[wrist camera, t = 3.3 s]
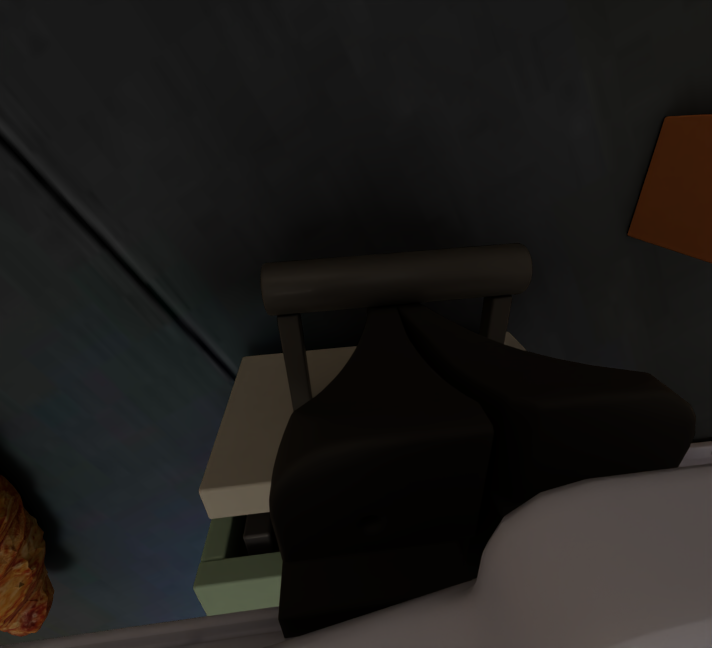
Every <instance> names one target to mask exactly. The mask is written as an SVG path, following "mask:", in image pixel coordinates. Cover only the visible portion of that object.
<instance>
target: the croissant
mask: <svg viewBox="0 0 712 648" xmlns="http://www.w3.org/2000/svg"><path fill="white" fill-rule="evenodd" d="M43 533H44V532H43V531H42V529H41V528H40V527H39V526H38V524H37V520H36V518H34V517H33V516H31V515H29V513H28V512H27V511H26V509H25V508H24V507H23V503H22V500H21V496H20V495H19V493H18V492H17V490H16V489H15V488H14V487H13V485H12V484H11V483H10V482H9V481H8V480H7V479H6V478H5V477H3V476H2V475H1V474H0V630H1V631H3V632H8V633H10V634H12V635H16V636H25V635H28V634H29V633H36V632H37V631H38V630H39V629H40V628H41V626H42V624H43V622H44V621H45V619H46V617H47V615H48V613H49V611H50V608H51V605H52V601H53V594H54V589H53V587H52V584H51V582H50V579H49V577H48V575H47V573H48V571H47V570H46V568H45V564H44V557H45V541H44V539H43Z"/></svg>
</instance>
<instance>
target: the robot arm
mask: <svg viewBox="0 0 712 648" xmlns="http://www.w3.org/2000/svg"><path fill="white" fill-rule="evenodd" d="M695 424H696V415H695V413H694V411H693V409H692V407H691V405H690V404H689V403H688V402H687V401H685V400H684V399H683V398H681V397H680V396H679V395H678V394H676V393H675V392H674V391H672V390H671V389H670V388H668V387H667V386H666V385H664V384H663V383H662V382H660V381H659V380H657V379H656V378H655V377H653V376H652V375H651V374H649V373H645V372H638V371H630V370H623V369H615V368H607V367H600V366H593V365H587V364H581V363H576V362H571V361H566V360H561V359H556V358H552V357H548V356H543V355H539V354H536V353H532V352H528V351H525V350H521V349H518V348H514V347H511V346H508V345H505V344H502V343H500V342H497V341H494V340H492V339H489V338H486V337H484V336H481V335H479V334H476V333H474V332H472V331H470V330H468V329H466V328H464V327H461V326H459V325H457V324H455V323H454V322H452V321H450V320H448V319H446V318H444V317H442V316H441V315H439V314H437V313H435V312H434V311H432V310H430V309H429V308H427V307H425V306H423V305H422V304H420V303H410V304H398V305H387V306H376V307H367V320H366V324H365V327H364V331H363V333H362V336H361V338H360V340H359V343H358V345H357V347H356V349H355V350H354V352H353V354H352V356H351V357H350V359H349V360H348V362H347V363H346V364H345V366H344V367H343V369H342V370H341V371H340V372H339V374H338V375H337V376H336V377H335V378H334V379H333V380H332V381H331V382H330V383H329V384H328V385H327V386H326V387H325V388H324V389H323V390H322V391H321V392H320V393H319V394H318V395H316V396H315V397H313V398H312V399H311V400H309V401H308V402H307V403H305V404H304V405H302V406H301V407H300V408H298V409H296V410H295V411H294V412H293V413H292V414H291V416H290V418H289V421H288V423H287V426H286V428H285V431H284V434H283V436H282V439H281V442H280V445H279V448H278V452H277V456H276V459H275V463H274V467H273V473H272V479H271V487H270V495H269V511H270V518H271V521H272V525H273V529H274V532H275V536H276V539H277V543H278V547H279V550H280V554H281V558H282V561H283V562H282V575H281V588H280V600H279V606H277V607H270V608H263V609H256V610H249V611H241V612H234V613H227V614H220V615H213V616H206V617H199V618H192V619H185V620H178V621H171V622H164V623H156V624H149V625H142V626H135V627H128V628H121V629H114V630H107V631H100V632H93V633H86V634H79V635H72V636H64V637H57V638H50V639H43V640H36V641H29V642H22V643H15V644H8V645H1V646H0V648H712V441H707V442H698V443H692V440H693V438H694V435H695Z"/></svg>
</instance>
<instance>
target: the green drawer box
mask: <svg viewBox="0 0 712 648" xmlns="http://www.w3.org/2000/svg"><path fill="white" fill-rule="evenodd" d="M246 518H247V515H240V516H232V517H224V518H216V519H212V520H211V524H210V527H209V531H208V535H207V538H206V542H205V546H204V549H203V553H202V557H201V562H200V564H199V568H198V571H197V575H196V579H195V582H194V586H193V589H194V591H195V593H196V595H197V597H198V599H199V601H200V603H201V605H202V606H203V608H204V610H205V612H206V614H207V616H213V615H220V614H227V613H234V612H241V611H249V610H256V609H263V608H270V607H277V606H279V600H280V588H281V575H282V562H283V561H282V558H281V554H280V552H274V553H266V554H258V555H250V556H249V554H248V551H247V548H246V545H245V542H244V539H243V534H244V529H245V523H246Z"/></svg>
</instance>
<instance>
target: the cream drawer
mask: <svg viewBox="0 0 712 648" xmlns="http://www.w3.org/2000/svg"><path fill="white" fill-rule="evenodd" d="M531 278H532V260H531V256H530V253H529V251H528V249H527V248H526V247H525V246H524V245H522V244H519V243H512V244H499V245H487V246H474V247H462V248H449V249H436V250H424V251H411V252H398V253H386V254H373V255H360V256H348V257H335V258H323V259H310V260H297V261H285V262H272V263H265V264H263V265H262V268H261V276H260V280H261V292H262V299H263V303H264V307H265V310H266V312H267V314H268V315H271V316H274V315H278V316H277V322H278V328H279V333H280V339H281V344H282V350H283V353H278V354H268V355H257V356H247V357H243V359H242V362H241V365H240V368H239V371H238V374H237V377H236V380H235V383H234V386H233V389H232V392H231V395H230V398H229V401H228V404H227V407H226V410H225V413H224V416H223V419H222V422H221V425H220V428H219V431H218V434H217V437H216V440H215V443H214V446H213V449H212V452H211V455H210V458H209V461H208V464H207V467H206V470H205V473H204V476H203V480H202V483H201V486H200V489H199V494H200V496H201V499H202V501H203V504H204V506H205V509H206V511H207V514H208V516H209V518H210V519H216V518H224V517H232V516H240V515H247V518H246V523H245V529H244V534H243V539H244V542H245V545H246V548H247V551H248V554H249V556H250V555H258V554H266V553H274V552H280V550H279V547H278V543H277V539H276V536H275V532H274V529H273V525H272V521H271V518H270V511H269V495H270V487H271V479H272V473H273V467H274V463H275V459H276V456H277V452H278V448H279V445H280V442H281V439H282V436H283V434H284V431H285V428H286V426H287V423H288V421H289V418H290V416H291V414H292V413H293V412H294V411H295V410H296V409H298V408H300V407H301V406H302V405H304V404H305V403H307V402H308V401H309V400H311V399H312V398H313V397H315V396H316V395H318V394H319V393H320V392H321V391H322V390H323V389H324V388H325V387H326V386H327V385H328V384H329V383H330V382H331V381H332V380H333V379H334V378H335V377H336V376H337V375H338V374H339V372H340V371H341V370H342V369H343V367H344V366H345V364H346V363H347V362H348V360H349V359H350V357H351V356H352V354H353V352H354V350H355V349H356V347H357V346H352V347H342V348H331V349H320V350H310V351H306V349H305V342H304V335H303V328H302V321H301V314H300V313H308V312H319V311H330V310H342V309H353V308H364V307H376V306H387V305H398V304H410V303H421V302H432V301H444V300H455V299H466V298H478V297H484V302H483V310H482V317H481V324H480V331H479V335H481V336H484V337H486V338H489V339H492V340H494V341H497V342H500V343H502V344H505V345H508V346H511V347H514V348H518V349H521V350H525V351H527V350H526V349H525V348H524V347H523V346H522V345H521V344H520V343H519V342H518V341H517V340H516V339H515V338H514V337H513V336H512V335H511V334H510V333H509V332H506V331H507V325H508V320H509V314H510V308H511V303H512V296H511V295H512V294H520V293H522V292H524V291H525V290H526V289H527V288H528V286H529V284H530V281H531Z"/></svg>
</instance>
